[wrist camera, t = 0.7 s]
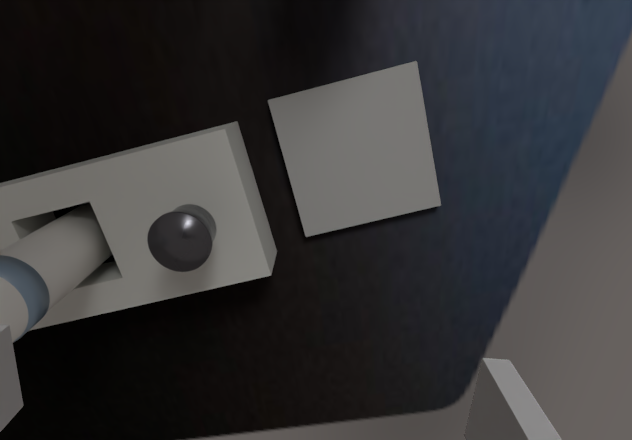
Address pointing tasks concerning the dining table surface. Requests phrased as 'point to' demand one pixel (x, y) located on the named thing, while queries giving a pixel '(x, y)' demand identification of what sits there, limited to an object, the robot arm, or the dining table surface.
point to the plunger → (182, 238)
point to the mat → (357, 149)
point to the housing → (150, 218)
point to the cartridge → (48, 267)
